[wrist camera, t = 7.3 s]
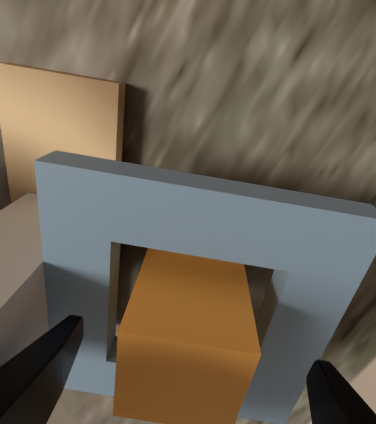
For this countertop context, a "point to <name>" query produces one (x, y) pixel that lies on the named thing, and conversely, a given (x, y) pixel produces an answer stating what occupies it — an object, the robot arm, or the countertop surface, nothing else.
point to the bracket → (185, 244)
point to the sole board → (56, 119)
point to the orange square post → (186, 342)
